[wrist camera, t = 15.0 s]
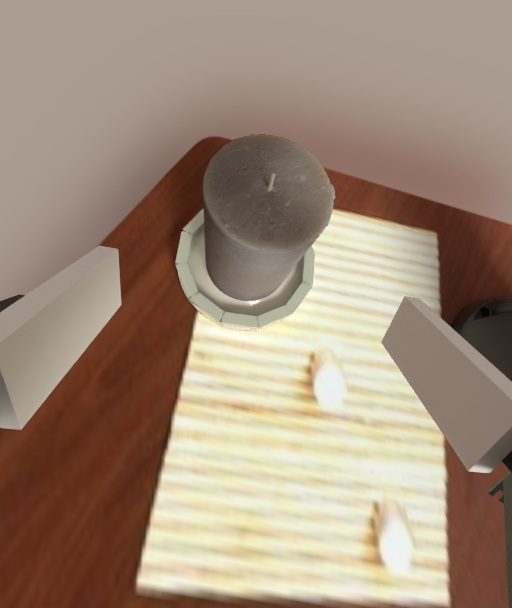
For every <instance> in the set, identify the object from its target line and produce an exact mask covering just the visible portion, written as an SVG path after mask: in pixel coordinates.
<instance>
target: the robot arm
mask: <svg viewBox="0 0 512 608" xmlns="http://www.w3.org/2000/svg"><path fill="white" fill-rule="evenodd" d="M120 306H121V290H120V273H119V255H118V249H115V248H109V247H103V246H98V247H97V248H95V249H94V250H92V251H91V252H89V253H88V254H86V255H85V256H84V257H82V258H80V259H79V260H78V261H76V262H74V263H73V264H72V265H70V266H69V267H67V268H66V269H64V270H63V271H61V272H60V273H58V274H57V275H55V276H54V277H52V278H51V279H49V280H48V281H46V282H45V283H43V284H42V285H40V286H39V287H37V288H36V289H34V290H33V291H31V292H30V293H29V294H27V295H17V296H14V297H11V298H8V299H5V300H3V301H0V428H9V429H19V430H21V429H22V428H23V427H24V426H25V424H26V423H27V422H28V421H29V419H30V418H31V417H32V416H33V414H34V413H35V412H36V411H37V409H38V408H39V407H40V406H41V404H42V403H43V402H44V401H45V399H46V398H47V397H48V396H49V394H50V393H51V392H52V391H53V389H54V388H55V387H56V386H57V384H58V383H59V382H60V381H61V379H62V378H63V377H64V376H65V374H66V373H67V372H68V371H69V369H70V368H71V367H72V366H73V364H74V363H75V362H76V361H77V359H78V358H79V357H80V356H81V354H82V353H83V352H84V351H85V349H86V348H87V347H88V346H89V344H90V343H91V342H92V341H93V339H94V338H95V337H96V336H97V334H98V333H99V332H100V331H101V329H102V328H103V327H104V326H105V324H106V323H107V322H108V321H109V319H110V318H111V317H112V316H113V314H114V313H115V312H116V311H117V309H118V308H119V307H120ZM382 344H383V345H384V347H385V348H386V350H387V351H388V353H389V354H390V356H391V357H392V359H393V360H394V362H395V363H396V365H397V366H398V368H399V369H400V371H401V372H402V374H403V375H404V377H405V378H406V380H407V381H408V383H409V384H410V385H411V387H412V388H413V390H414V391H415V393H416V394H417V396H418V397H419V399H420V400H421V402H422V403H423V405H424V406H425V408H426V409H427V411H428V412H429V414H430V415H431V417H432V418H433V420H434V421H435V423H436V424H437V426H438V427H439V428H440V430H441V431H442V433H443V434H444V436H445V437H446V439H447V440H448V442H449V443H450V445H451V446H452V448H453V449H454V451H455V452H456V454H457V455H458V457H459V458H460V460H461V461H462V463H463V464H464V466H465V467H466V469H467V470H468V471H472V472H483V473H491V472H492V471H493V470H494V469H495V468H496V467H497V466H498V465H499V464H500V463H501V462H502V461H503V463H504V464H505V465H506V466H507V468H508V469H509V470H510V471H509V472H508V473H507V474H506V475H505V476H504V477H503V478H501V479H500V480H499V481H498V482H497V483H496V484H495V485H494V486H493V487H492V488H490V490H489V493H488V494H490V495H492V496H493V495H494V494H495V493H496V492H498V491H501V492H503V493H504V495H503V496H502V497H500V498H499V499H498V500H499V501H501V502H502V503H504V515H505V538H506V560H507V583H508V605H509V608H512V296H500V297H493V298H489V299H486V300H482V301H479V302H475V303H473V304H471V305H469V306H467V307H466V308H465V309H464V310H463V311H462V312H461V313H460V314H459V315H458V317H457V318H456V320H455V322H454V324H453V327H452V328H451V327H450V326H449V325H448V324H447V323H446V322H445V321H444V320H442V319H441V318H440V317H439V316H438V315H437V314H436V313H435V312H434V311H432V310H431V309H430V308H429V307H428V306H427V305H426V304H425V303H424V302H422V301H421V300H420V299H417V298H411V297H404V299H403V301H402V303H401V305H400V307H399V308H398V310H397V312H396V314H395V316H394V318H393V320H392V322H391V324H390V326H389V328H388V330H387V332H386V334H385V336H384V338H383V340H382Z"/></svg>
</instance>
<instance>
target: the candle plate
mask: <svg viewBox="0 0 512 608" xmlns="http://www.w3.org/2000/svg"><path fill="white" fill-rule="evenodd" d="M313 253H314V250H313V248H312V246H310V248H309V249H308V250H307V252H306V253H305V254H304V256H303V257H302V258H301V259H300V261H299V262H298V263H297V265H296V266H295V267H294V269H293V270H292V271H291V273H290V274H289V275H288V276H287V278H286V279H285V280H284V281H283V283H282V284H281V285H280V286H279V287H278V289H277V290H276V291H275V292H273V293H272V294H271V295H269V296H267V297H265V298H263V299H260V300H256V301H241V300H237V299H234V298H231V297H229V296H227V295H225V294H224V293H222V292H221V291H220V290H219V289H218V288H217V287H216V286H215V285H214V284H213V282H212V281H211V279H210V277H209V274H208V271H207V268H206V259H205V237H204V210H203V209H202V210H201V211H200V212H199V213H198V214H197V215H196V216H195V217H194V218H193V219H192V220H191V221H190V222H189V223H188V224H187V225H186V226H185V227H184V228H183V231H182V232H181V237H180V242H179V247H178V252H177V257H176V262H175V263H176V268H177V271H178V277H179V280H180V283H181V286H182V289H183V291H184V293H185V295H186V297H187V298H188V300H189V301H190V303H191V304H192V305H193V306H194V307H195V308H196V310H198V311H199V312H200V313H201V314H202V315H203V316H205V317H206V318H208V319H209V320H211V321H212V322H214V323H216V324H218V325H221V326H224V327H227V328H230V329H235V330H245V331H249V330H259V329H264V328H267V327H270V326H273V325H275V324H277V323H279V322H281V321H282V320H284V319H285V318H287V317H289V316H290V315H291V314H293V313H294V311H295V310H296V309H297V308H298V307H299V305H300V304H301V303H302V301H303V300H304V298H305V296H306V295H307V293H308V292H309V290H310V289H311V288H312V285H313V274H314V256H315V254H313Z"/></svg>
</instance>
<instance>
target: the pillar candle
mask: <svg viewBox="0 0 512 608" xmlns="http://www.w3.org/2000/svg"><path fill="white" fill-rule="evenodd" d="M334 198H335V191H334V187H333V185H331V184H330V181H329V178H328V177H327V173H326V172H325V171H324V169H323V167H322V166H321V164H320V163H319V162H318V161H317V159H316V158H315V157H314V156H313V155H312V154H311V153H309V152H308V151H307V150H305V149H304V148H303V147H302V146H301V145H299V144H298V143H295V142H292V141H290V140H288V139H285V138H282V137H277V136H271V135H264V134H260V135H250V136H245V137H242V138H238V139H234V140H233V141H231V142H229V143H228V144H226V145H224V146H223V147H221V149H220V150H219V151H218V152H217V153H216V154H215V155H214V156H213V157H212V158H211V160H210V162H209V164H208V166H207V168H206V170H205V173H204V177H203V210H204V237H205V259H206V268H207V271H208V274H209V277H210V279H211V281H212V282H213V284H214V285H215V286H216V287H217V288H218V289H219V290H220V291H221V292H222V293H224V294H225V295H227V296H229V297H231V298H234V299H237V300H241V301H256V300H260V299H263V298H265V297H267V296H269V295H271V294H272V293H273V292H275V291H276V290H277V289H278V287H279V286H280V285H281V284H282V283H283V281H284V280H285V279H286V278H287V276H288V275H289V274H290V273H291V271H292V270H293V269H294V267H295V266H296V265H297V263H298V262H299V261H300V259H301V258H302V257H303V256H304V254H305V253H306V252H307V250H308V249H309V248H310V246H311V245H312V244H313V243H314V241H315V240H316V239H317V238H318V237H319V235H320V234H321V233H322V232H323V230H324V229H325V227H326V226H328V223H329V220H330V218H331V214H332V211H333V199H334Z"/></svg>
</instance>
